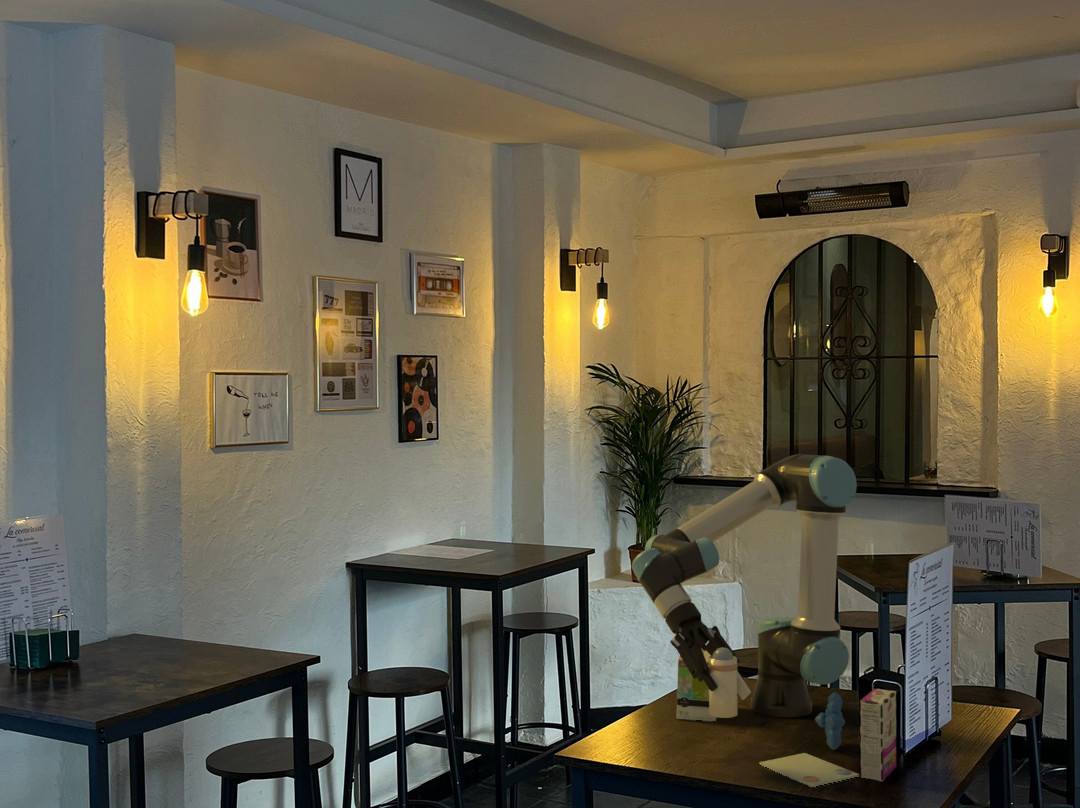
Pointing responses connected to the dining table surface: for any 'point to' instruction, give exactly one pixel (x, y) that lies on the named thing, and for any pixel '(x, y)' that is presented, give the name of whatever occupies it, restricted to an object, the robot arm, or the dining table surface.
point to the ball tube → (724, 682)
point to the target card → (808, 769)
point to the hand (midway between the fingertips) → (736, 698)
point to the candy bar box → (878, 734)
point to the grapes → (832, 720)
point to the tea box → (692, 695)
